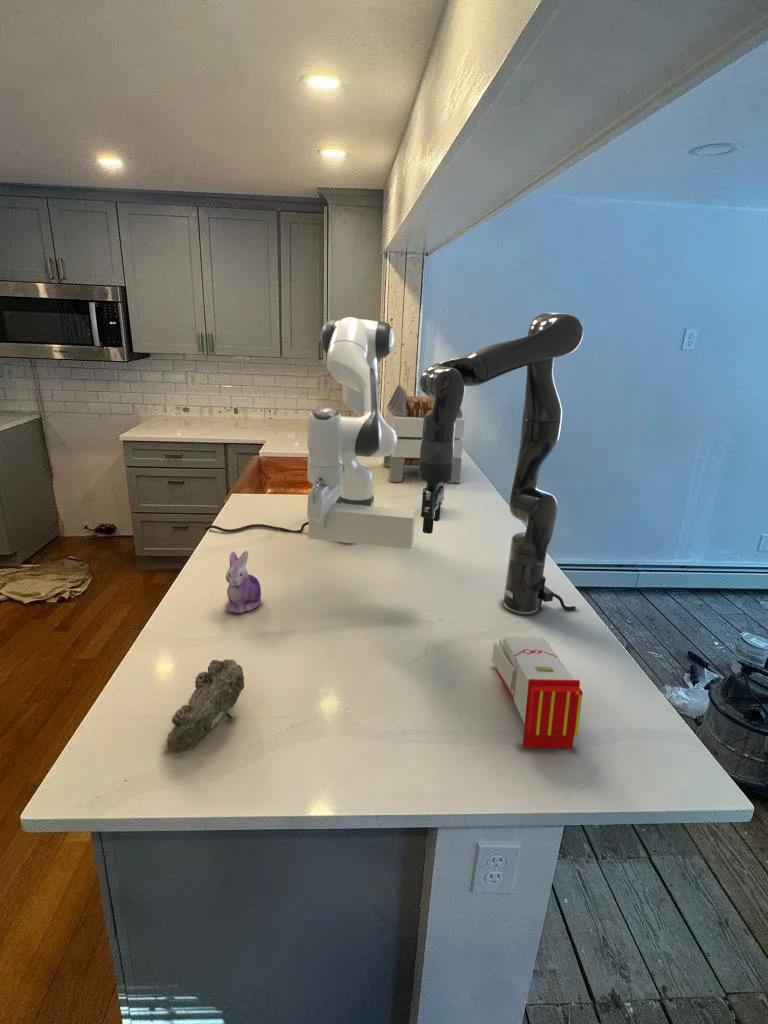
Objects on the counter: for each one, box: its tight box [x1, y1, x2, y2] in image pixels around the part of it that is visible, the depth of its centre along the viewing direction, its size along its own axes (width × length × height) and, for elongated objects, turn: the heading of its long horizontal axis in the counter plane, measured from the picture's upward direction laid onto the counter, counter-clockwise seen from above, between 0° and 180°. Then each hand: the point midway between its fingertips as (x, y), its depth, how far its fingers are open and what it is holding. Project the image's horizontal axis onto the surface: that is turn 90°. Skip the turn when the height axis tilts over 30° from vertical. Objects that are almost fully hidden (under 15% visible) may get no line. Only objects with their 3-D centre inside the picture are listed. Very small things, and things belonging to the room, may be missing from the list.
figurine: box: [225, 550, 262, 614], centre depth 146 cm, size 9×10×15 cm
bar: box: [307, 503, 416, 550], centre depth 146 cm, size 27×6×8 cm, turn 81°
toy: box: [491, 636, 583, 749], centre depth 115 cm, size 12×13×30 cm
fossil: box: [166, 658, 245, 754], centre depth 106 cm, size 22×10×15 cm
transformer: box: [383, 384, 465, 484], centre depth 268 cm, size 34×33×41 cm
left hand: (324, 524), depth 148 cm, fingers closed on bar, 5 cm apart
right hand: (431, 526), depth 131 cm, fingers open, 8 cm apart
